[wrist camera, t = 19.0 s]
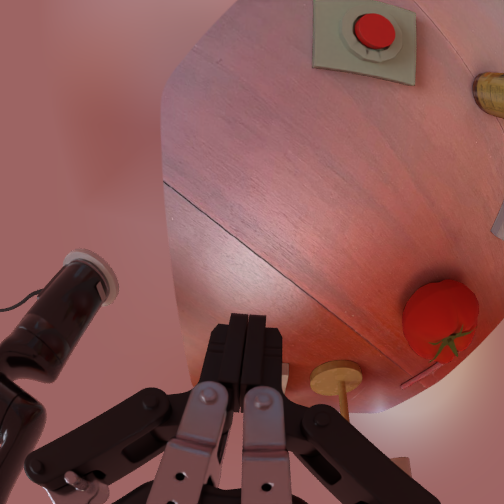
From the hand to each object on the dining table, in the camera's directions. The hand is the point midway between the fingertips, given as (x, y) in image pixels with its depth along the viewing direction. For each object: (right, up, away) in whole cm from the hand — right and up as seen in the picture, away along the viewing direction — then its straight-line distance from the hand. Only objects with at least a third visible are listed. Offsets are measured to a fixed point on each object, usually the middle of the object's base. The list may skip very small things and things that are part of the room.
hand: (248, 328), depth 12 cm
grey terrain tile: (+44, +10, +20) cm, 50 cm away
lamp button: (+13, +26, +9) cm, 30 cm away
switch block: (+13, +28, +12) cm, 33 cm away
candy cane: (+39, -23, +41) cm, 61 cm away
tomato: (+31, -5, +30) cm, 43 cm away
